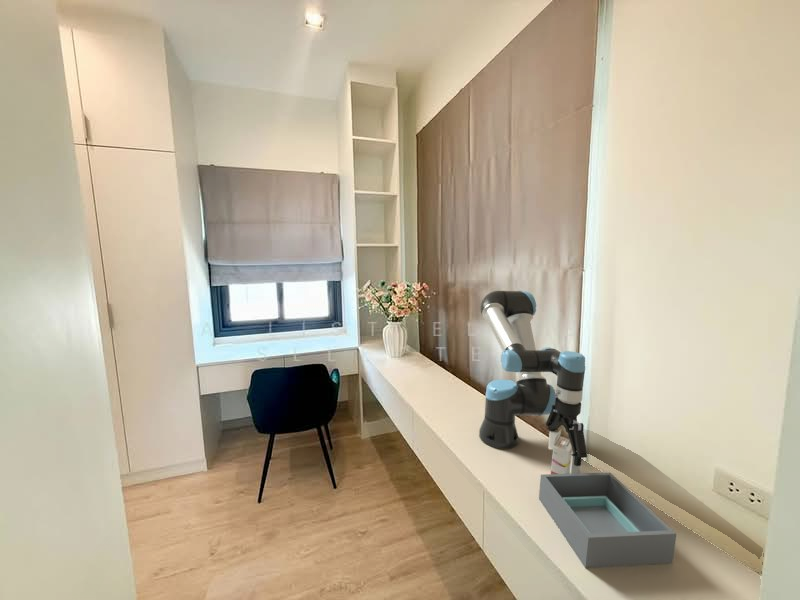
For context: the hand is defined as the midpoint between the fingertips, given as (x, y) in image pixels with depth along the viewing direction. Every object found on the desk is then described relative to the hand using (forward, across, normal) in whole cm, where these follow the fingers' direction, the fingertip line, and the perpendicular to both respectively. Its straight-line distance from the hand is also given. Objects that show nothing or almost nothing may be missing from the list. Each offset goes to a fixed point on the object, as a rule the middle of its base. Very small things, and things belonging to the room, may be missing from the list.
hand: (562, 460), depth 108 cm
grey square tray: (+5, +21, -2) cm, 22 cm away
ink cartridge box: (+6, 0, 0) cm, 6 cm away
